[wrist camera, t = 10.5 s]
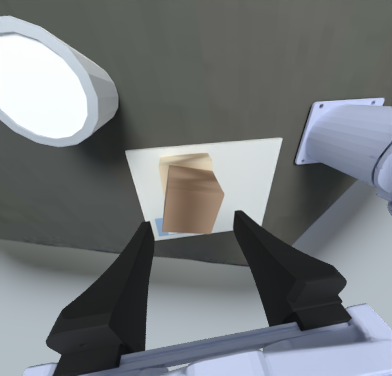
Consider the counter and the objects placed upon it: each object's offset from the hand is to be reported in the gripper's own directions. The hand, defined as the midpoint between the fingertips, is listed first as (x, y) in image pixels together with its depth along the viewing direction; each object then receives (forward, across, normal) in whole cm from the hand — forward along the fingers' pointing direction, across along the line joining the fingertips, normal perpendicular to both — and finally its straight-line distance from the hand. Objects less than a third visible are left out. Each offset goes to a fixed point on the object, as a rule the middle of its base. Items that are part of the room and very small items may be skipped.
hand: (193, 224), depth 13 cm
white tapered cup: (+10, +9, -10) cm, 17 cm away
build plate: (+10, -3, +4) cm, 11 cm away
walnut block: (+6, 0, 0) cm, 6 cm away
